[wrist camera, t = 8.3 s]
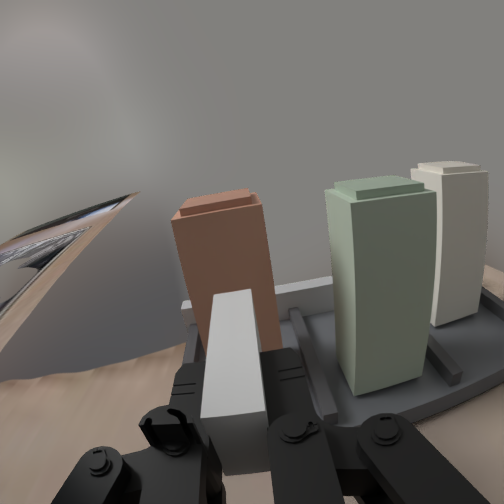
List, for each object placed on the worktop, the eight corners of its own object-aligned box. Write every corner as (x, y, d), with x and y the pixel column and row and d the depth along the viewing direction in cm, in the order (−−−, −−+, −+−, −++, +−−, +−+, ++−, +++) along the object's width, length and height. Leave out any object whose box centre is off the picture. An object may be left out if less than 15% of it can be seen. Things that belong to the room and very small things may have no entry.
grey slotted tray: (175, 466, 15) (151, 425, 14) (194, 339, 28) (183, 301, 27) (539, 360, 15) (554, 314, 14) (451, 286, 29) (454, 250, 27)
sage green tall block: (353, 396, 17) (349, 193, 13) (335, 356, 20) (323, 182, 17) (421, 375, 17) (435, 183, 13) (396, 341, 20) (397, 173, 17)
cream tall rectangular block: (434, 326, 21) (441, 168, 17) (410, 303, 25) (410, 163, 21) (477, 312, 21) (488, 165, 17) (451, 291, 25) (455, 160, 21)
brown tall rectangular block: (216, 390, 19) (168, 212, 15) (218, 354, 23) (181, 199, 19) (287, 379, 19) (260, 196, 15) (279, 344, 23) (255, 185, 19)
